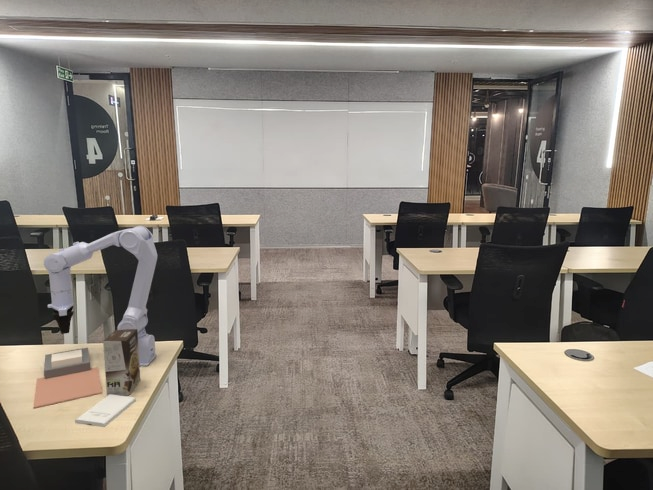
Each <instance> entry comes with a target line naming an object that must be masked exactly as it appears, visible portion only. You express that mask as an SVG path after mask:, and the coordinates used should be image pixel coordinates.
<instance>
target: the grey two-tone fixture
mask: <svg viewBox="0 0 653 490" xmlns="http://www.w3.org/2000/svg"><path fill="white" fill-rule="evenodd" d="M75 350H81V351H82V363H77V364H72V365H66V366H61V367H55V368H52V364H51V358H52V354H57V353H63V352H69V351H75ZM90 359H91V358H90V352H89V347H82V348H77V349H72V350H65V351H60V352H59V351H58V352H54V353H49V354H48V353H47V354H45V355H44V365H43V366H44V367H43V375H44V376H43V377H45V379H48V378H53V377H59V376H64V375H69V374H74V373H79V372H84V371H89V370H91V368H92V367H91V360H90Z"/></svg>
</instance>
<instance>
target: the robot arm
mask: <svg viewBox="0 0 653 490" xmlns="http://www.w3.org/2000/svg"><path fill="white" fill-rule="evenodd" d="M110 246H116V247H118V248H119V247H122V248H123V249H125V250H126V251H128V252H130V253H131V254H133V256H135V258H136V259H137V260H138V263H137V267H136V272H135V276H134V281H133V283H132V288H131V293H130V297H129V301H128V305H127V309H126V310H125V312H124V314H123V315H122V316H123V317H122V320H121V321H120V322H119V323H118V325H117V327H116V328H117V329H116V330H126V329H137V333H138V349H139V365H140V367H148V366H149V365H150V364H151V363H152V361H153V360H154V359H155V358H156V357H157V354H156V342H155V341H156V340H155V336H154V335H153V334H148V333H147V331H146V329H145V328H146V326H147V325H148V322H149V319H148V314H147V313H148V308H147V303H148V299H149V294H150V291H151V288H152V287H151V286H152V282H153V278H154V274H155V271H156V270H155V269H156V265H157V261H158V253H157V249H156V246H155V242H154V235H153V233H152V232H151V231H150V230H149V229H148V228H147V227H145V226H143V225H137V226H134V227H132V228H131V227H130V228H126V229H122V230H117V231H114V232H111V233H109V234H107V235H105V236H103V237H101V238H99V239H96V240H94V241H92V242H90V243H87V242H85V241H81V242H79V241H76V242H75V241H74V242H73V243H72V245H71V246H68V247H66V248H60V249H58V251H57V252H55V253H49V255H47V256H46V257H44V260H43V265H44V268H45V270H47V271H48V277H49V287H50V297H51V303H49V304H47V308H48V309H50V308H51V309H52V311H53V312H52V317H53V319H54V320H55V321H56V323H57V326H58V328H59V331H60V334H61V335H63V334H69V333H70V329H71V322H72V319H73V318H72V317H73V316H74V311H73V309H74V305H75V302H74V300H73V299H74V298H73V287H72V276H71V269H72V267H73V266H75V265H78V264H80V263H84V262H87V261H88V260H90V259H92V257H93V255H94V254H95V252H98V251H101V250H104V249H106V248H109V247H110Z"/></svg>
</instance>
